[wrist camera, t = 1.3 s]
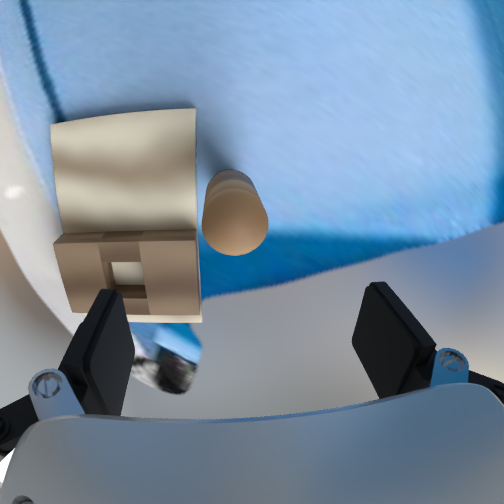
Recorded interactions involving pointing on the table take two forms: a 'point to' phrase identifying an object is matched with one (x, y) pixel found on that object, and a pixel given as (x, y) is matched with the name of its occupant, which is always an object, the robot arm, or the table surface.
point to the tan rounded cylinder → (233, 214)
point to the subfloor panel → (130, 212)
